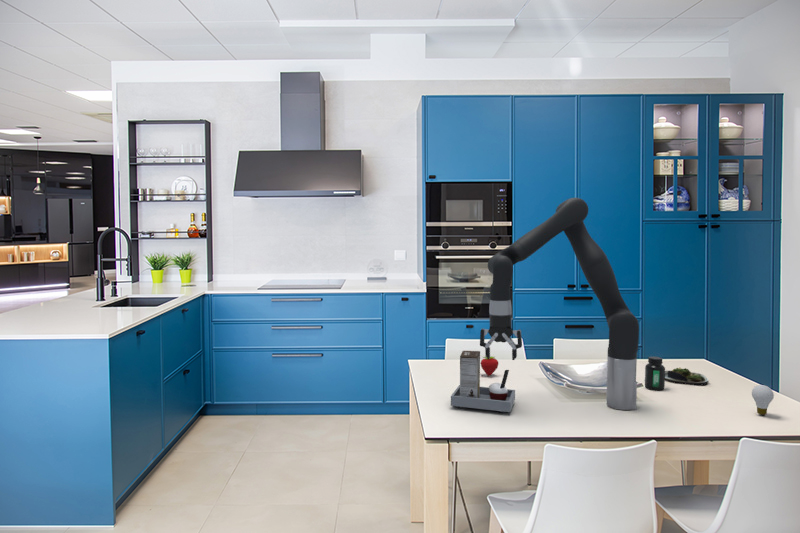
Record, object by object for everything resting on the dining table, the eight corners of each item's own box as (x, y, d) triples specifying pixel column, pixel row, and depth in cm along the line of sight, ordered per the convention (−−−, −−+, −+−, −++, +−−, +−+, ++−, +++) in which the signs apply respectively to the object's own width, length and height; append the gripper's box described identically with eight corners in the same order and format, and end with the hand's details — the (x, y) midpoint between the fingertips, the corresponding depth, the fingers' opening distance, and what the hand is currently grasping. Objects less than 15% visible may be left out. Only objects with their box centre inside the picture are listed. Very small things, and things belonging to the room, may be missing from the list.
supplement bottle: (659, 392, 192) (660, 360, 191) (641, 388, 197) (642, 357, 196) (667, 388, 196) (668, 358, 195) (649, 384, 201) (650, 354, 201)
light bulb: (751, 411, 171) (752, 381, 171) (773, 414, 168) (774, 385, 167) (749, 415, 167) (751, 385, 166) (772, 419, 163) (773, 389, 163)
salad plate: (656, 371, 223) (656, 360, 223) (703, 375, 216) (703, 364, 216) (659, 382, 205) (659, 371, 205) (710, 388, 198) (711, 376, 198)
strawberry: (500, 377, 211) (500, 354, 211) (482, 378, 211) (482, 354, 210) (496, 374, 217) (496, 350, 217) (479, 374, 217) (479, 351, 216)
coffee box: (462, 394, 184) (462, 349, 183) (480, 395, 182) (480, 350, 181) (459, 402, 175) (459, 355, 174) (478, 403, 173) (478, 356, 172)
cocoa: (487, 398, 180) (485, 364, 179) (504, 397, 180) (503, 363, 180) (493, 406, 170) (491, 370, 170) (511, 405, 170) (510, 369, 170)
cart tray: (515, 402, 180) (515, 389, 180) (510, 415, 167) (510, 402, 167) (459, 396, 187) (459, 384, 187) (450, 409, 174) (450, 396, 173)
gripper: (522, 311, 178) (522, 357, 179) (481, 310, 182) (482, 355, 183) (520, 315, 171) (521, 362, 172) (478, 313, 175) (478, 360, 176)
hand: (500, 359), depth 177 cm, fingers open, 8 cm apart
